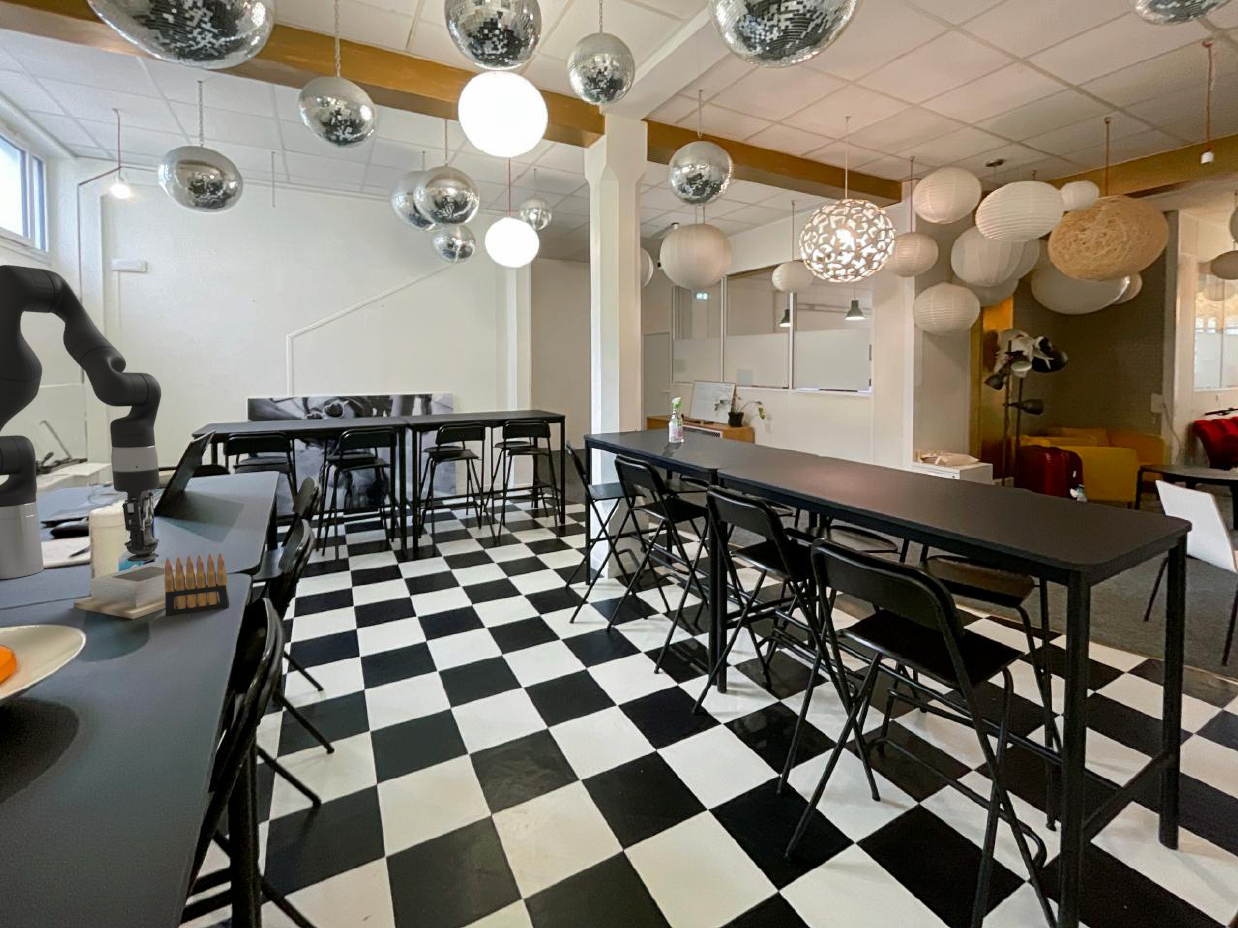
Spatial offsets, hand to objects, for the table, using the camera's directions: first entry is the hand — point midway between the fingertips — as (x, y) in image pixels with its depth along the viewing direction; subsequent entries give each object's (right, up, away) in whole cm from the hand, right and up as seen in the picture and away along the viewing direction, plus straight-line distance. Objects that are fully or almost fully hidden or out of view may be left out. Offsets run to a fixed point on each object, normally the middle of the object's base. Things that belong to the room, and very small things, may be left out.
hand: (142, 544), depth 124 cm
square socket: (0, -11, +2) cm, 11 cm away
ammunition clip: (+15, -14, -4) cm, 20 cm away
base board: (0, -12, +2) cm, 12 cm away
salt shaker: (0, -3, 0) cm, 3 cm away
